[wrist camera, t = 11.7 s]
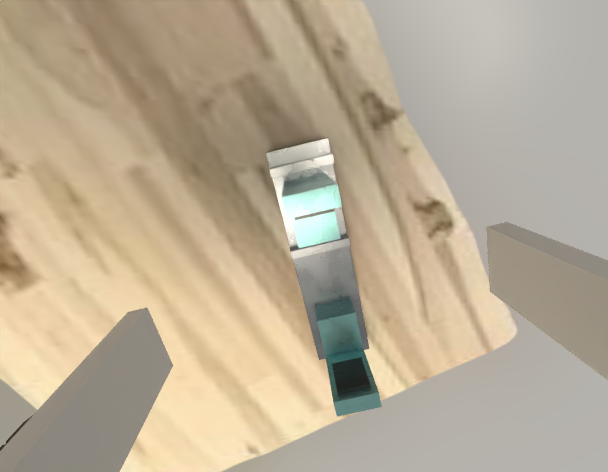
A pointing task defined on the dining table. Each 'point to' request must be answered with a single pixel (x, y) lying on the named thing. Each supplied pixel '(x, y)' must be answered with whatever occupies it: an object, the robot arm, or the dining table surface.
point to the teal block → (312, 208)
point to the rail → (329, 287)
